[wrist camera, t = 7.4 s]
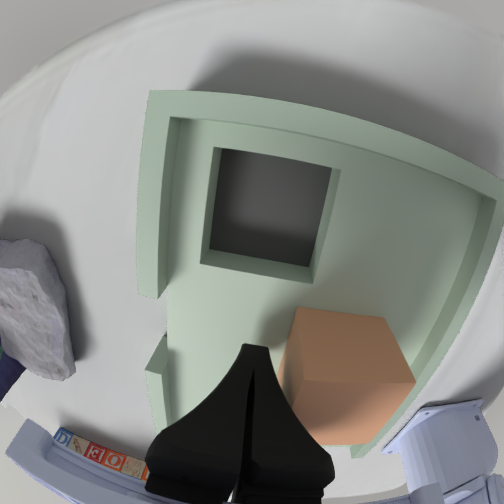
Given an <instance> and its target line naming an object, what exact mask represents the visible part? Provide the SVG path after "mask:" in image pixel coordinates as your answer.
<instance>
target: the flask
mask: <svg viewBox="0 0 504 504" xmlns="http://www.w3.org/2000/svg"><path fill="white" fill-rule="evenodd" d="M25 370H26V367H24V366H23V365H22V364H21V363H20V362H19V361H18V360H16V359H14V358H12V357H10V356H8V355H7V354H6V353H5V351H4V350H3V348H2V343H1V336H0V402H1V401H2V399H3V398H4V396H5V395H6V393H7V392H8V391H9V390H10V388H11V387H12V385H13V384H14V383H15V382H16V381H17V380H18V378H19V377H20V376H21V374H22V373H23V372H24V371H25Z"/></svg>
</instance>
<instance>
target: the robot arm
mask: <svg viewBox="0 0 504 504" xmlns="http://www.w3.org/2000/svg"><path fill="white" fill-rule="evenodd" d="M482 404H483V400H482V399H479V400H474V401H468V402H463V403H457V404H450V405H443V406H435V407H426V408H422V409H420V410H419V411H418V412H417V413H416V414H415V416H414V417H413V418H412V419H411V420H410V421H409V422H408V424H407V425H406V426H405V427H404V428H403V429H402V430H401V431H400V432H399V433H398V435H397V436H396V437H395V438H394V439H393V440H392V441H391V442H390V443H389V444H388V445H387V446H386V447H385V448H384V449H383V450H382V451H381V452H382V454H383V455H385V454H394V453H400V456H401V460H402V464H403V469H404V473H405V477H406V482H407V486H408V491H409V494H408V495H404V496H399V497H395V498H390V499H385V500H379V501H373V502H367V503H361V504H504V478H503V477H502V475H498V474H492V475H491V476H490V474H491V472H492V471H493V469H494V467H495V465H496V462H497V457H498V449H497V444H496V442H495V440H494V437H493V435H492V433H491V431H490V429H489V426H488V425H487V422H486V421H485V418H484V416H483V414H482V412H481V410H480V408H479V407H480V406H481V405H482ZM5 454H6V455H7V456H8V457H9V458H10V459H11V460H12V461H13V462H14V463H16V464H17V465H18V466H19V467H20V468H21V469H22V470H24V471H25V472H26V473H27V474H28V475H29V476H31V477H32V478H33V479H35V480H36V481H38V482H39V483H41V484H42V485H44V486H45V487H47V488H48V489H50V490H51V491H53V492H54V493H56V494H58V495H59V496H61V497H62V498H64V499H66V500H68V501H69V502H71V503H73V504H321V498H322V497H323V496H324V490H323V489H324V488H325V487H326V486H327V485H329V484H330V483H331V482H332V481H333V480H334V478H335V470H334V465H333V462H332V458H331V455H330V454H329V453H327V452H326V451H325V450H324V449H323V448H322V447H321V446H320V445H319V444H318V443H317V442H316V441H315V439H314V438H313V437H312V436H311V435H310V434H309V432H308V431H307V430H306V429H305V427H304V426H303V425H302V423H301V422H300V421H299V419H298V418H297V416H296V415H295V413H294V412H293V410H292V408H291V406H290V405H289V403H288V401H287V399H286V397H285V395H284V393H283V391H282V389H281V387H280V384H279V382H278V379H277V376H276V374H275V371H274V368H273V364H272V361H271V357H270V352H269V348H268V347H266V346H259V345H254V344H248V343H244V344H242V346H241V349H240V352H239V354H238V356H237V358H236V360H235V361H234V363H233V365H232V366H231V368H230V369H229V371H228V372H227V374H226V375H225V376H224V378H223V379H222V380H221V382H220V383H219V384H218V385H217V386H216V388H215V389H214V390H213V391H212V392H211V393H210V394H209V395H208V396H207V397H206V398H205V399H204V400H203V401H202V402H201V403H200V404H199V405H197V406H196V407H195V408H194V409H193V410H191V411H190V412H189V413H187V414H186V415H185V416H183V417H182V418H181V419H179V420H178V421H176V422H175V423H173V424H171V425H170V426H168V427H166V428H165V429H163V430H161V432H160V433H159V434H158V435H157V436H156V438H155V439H154V440H153V442H152V444H151V445H150V447H149V449H148V452H147V454H146V457H145V463H146V465H147V468H148V470H149V472H150V473H149V476H148V478H147V481H146V482H144V481H141V480H138V479H135V478H132V477H130V476H127V475H125V474H122V473H120V472H117V471H115V470H112V469H110V468H108V467H105V466H103V465H101V464H99V463H97V462H94V461H92V460H90V459H88V458H86V457H84V456H82V455H80V454H78V453H77V452H75V451H73V450H71V449H69V448H67V447H66V446H64V445H62V444H60V443H59V442H57V441H55V440H54V438H53V437H52V435H51V434H50V433H49V432H48V431H47V430H45V429H44V428H42V427H41V426H39V425H38V424H36V423H35V422H33V421H32V420H30V419H27V420H26V421H25V423H24V424H23V426H22V427H21V428H20V430H19V431H18V433H17V434H16V436H15V438H14V439H13V441H12V442H11V444H10V445H9V447H8V448H7V450H6V452H5ZM232 491H233V494H232V499H231V502H227V501H228V499H229V496H230V494H231V493H232Z"/></svg>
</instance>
